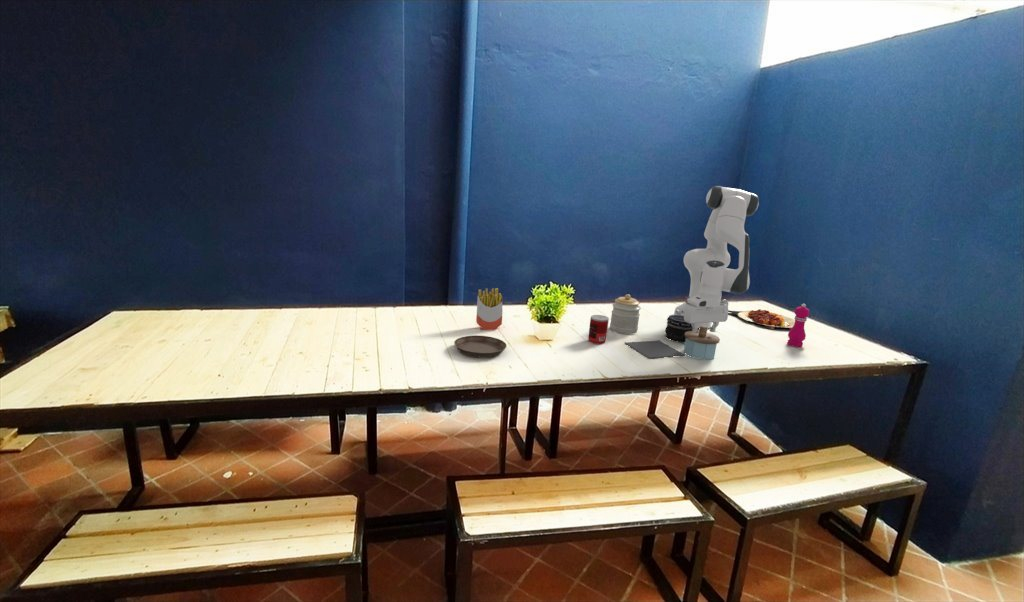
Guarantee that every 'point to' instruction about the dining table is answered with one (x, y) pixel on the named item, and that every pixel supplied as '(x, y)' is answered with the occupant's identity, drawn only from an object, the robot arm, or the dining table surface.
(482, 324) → the french fries container
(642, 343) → the mat
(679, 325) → the container
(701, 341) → the lid
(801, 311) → the pepper mill
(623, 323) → the jar
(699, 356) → the bowl
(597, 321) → the canned food
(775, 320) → the plate of food
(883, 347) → the dining table surface
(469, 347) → the plant saucer
